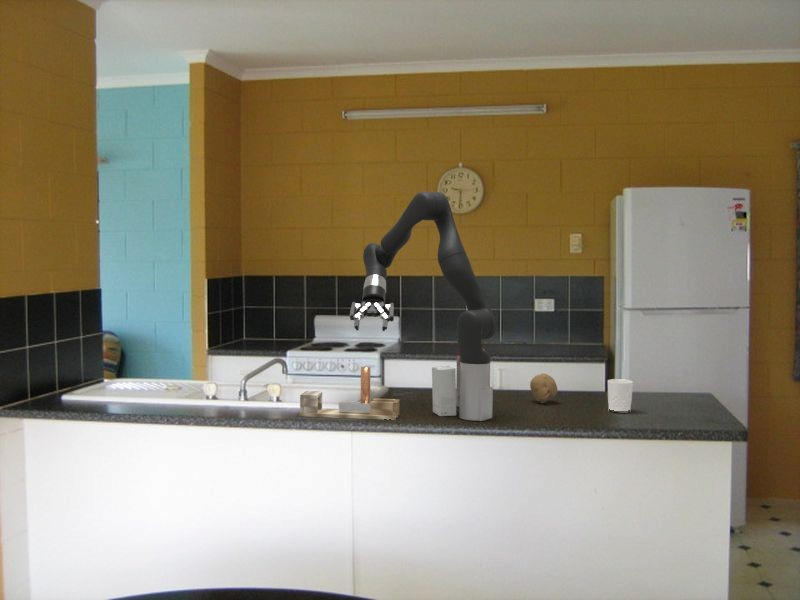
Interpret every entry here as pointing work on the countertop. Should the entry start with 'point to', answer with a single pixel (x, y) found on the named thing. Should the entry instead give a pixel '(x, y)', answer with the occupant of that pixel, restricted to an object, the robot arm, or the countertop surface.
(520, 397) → the countertop surface
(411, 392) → the countertop surface
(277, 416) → the countertop surface
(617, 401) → the white cup
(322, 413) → the channel and socket
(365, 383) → the copper rod stand
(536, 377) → the tan round lump
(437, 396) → the skincare box
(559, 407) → the countertop surface
